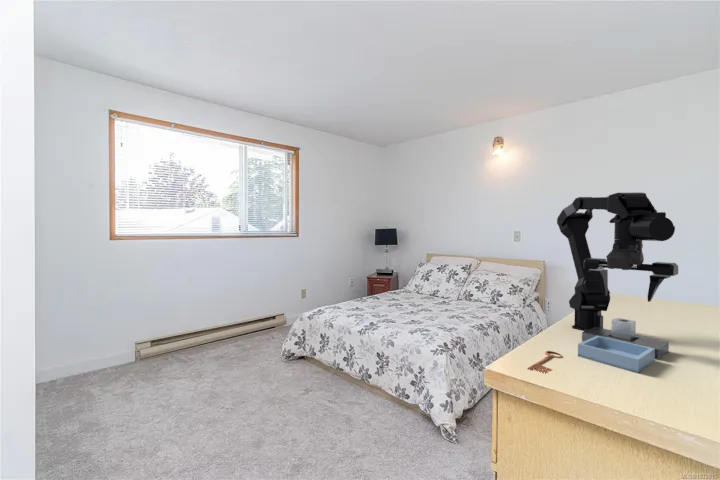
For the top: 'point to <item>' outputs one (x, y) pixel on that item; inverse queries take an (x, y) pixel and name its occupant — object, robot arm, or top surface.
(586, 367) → the top surface
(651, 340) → the gray square hole plate
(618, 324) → the small speaker box
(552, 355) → the key
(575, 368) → the top surface
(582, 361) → the top surface
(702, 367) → the top surface
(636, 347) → the parts tray
